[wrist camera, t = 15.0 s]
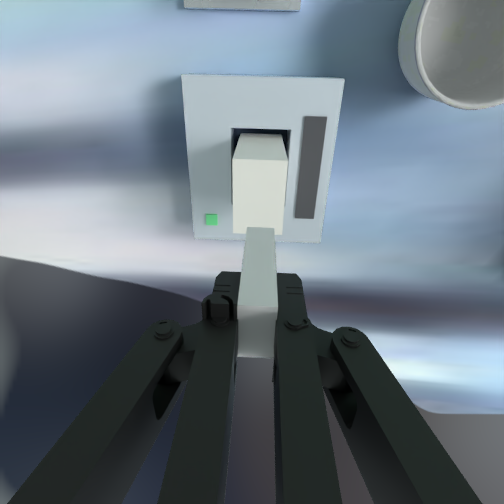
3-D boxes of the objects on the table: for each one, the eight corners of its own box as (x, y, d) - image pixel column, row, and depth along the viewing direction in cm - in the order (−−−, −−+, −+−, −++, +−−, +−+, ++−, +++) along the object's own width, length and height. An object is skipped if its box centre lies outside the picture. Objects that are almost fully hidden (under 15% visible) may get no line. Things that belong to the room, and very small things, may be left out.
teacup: (440, 122, 32) (488, 137, 25) (357, 56, 30) (386, 54, 23) (574, -33, 26) (685, -67, 19) (484, -133, 23) (577, -215, 17)
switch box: (335, 77, 31) (345, 79, 27) (315, 227, 39) (320, 244, 35) (190, 73, 31) (180, 74, 27) (200, 223, 39) (193, 240, 35)
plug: (280, 130, 33) (287, 160, 23) (276, 186, 36) (282, 234, 26) (242, 129, 33) (232, 159, 23) (241, 185, 36) (233, 233, 26)
